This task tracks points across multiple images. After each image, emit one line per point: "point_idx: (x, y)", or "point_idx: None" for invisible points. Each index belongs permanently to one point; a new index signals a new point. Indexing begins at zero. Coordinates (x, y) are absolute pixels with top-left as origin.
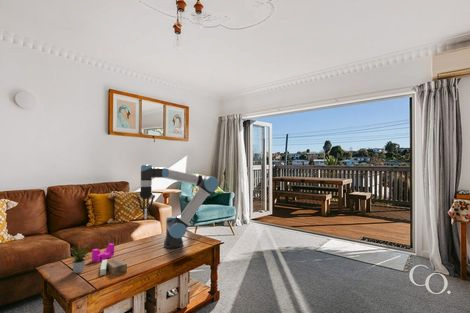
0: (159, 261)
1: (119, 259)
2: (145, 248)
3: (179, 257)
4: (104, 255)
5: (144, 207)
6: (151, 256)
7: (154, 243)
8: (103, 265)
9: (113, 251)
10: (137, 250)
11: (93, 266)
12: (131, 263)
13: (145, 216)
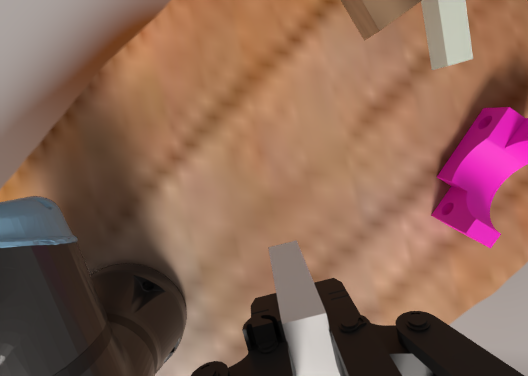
0: (162, 76)
1: (378, 12)
2: None
3: (58, 124)
4: (476, 141)
5: (350, 355)
6: (224, 158)
7: None
8: None
9: (442, 216)
10: (320, 258)
11: (494, 49)
12: (310, 66)
13: (290, 258)
